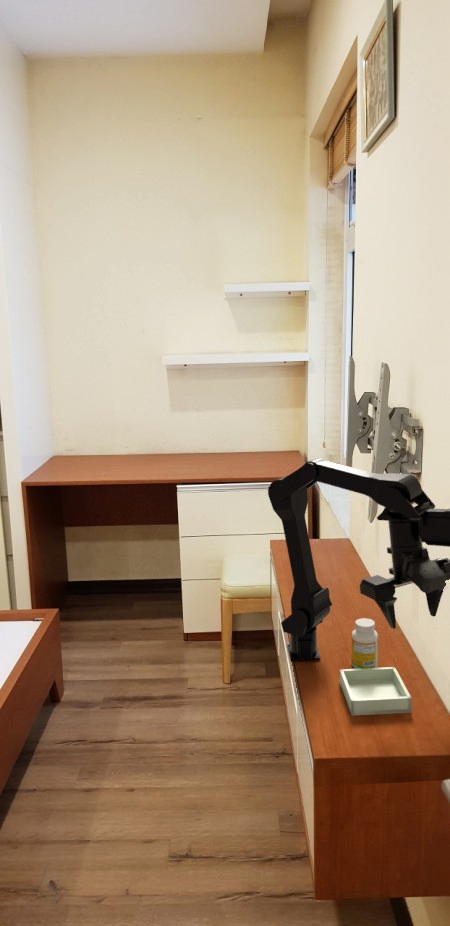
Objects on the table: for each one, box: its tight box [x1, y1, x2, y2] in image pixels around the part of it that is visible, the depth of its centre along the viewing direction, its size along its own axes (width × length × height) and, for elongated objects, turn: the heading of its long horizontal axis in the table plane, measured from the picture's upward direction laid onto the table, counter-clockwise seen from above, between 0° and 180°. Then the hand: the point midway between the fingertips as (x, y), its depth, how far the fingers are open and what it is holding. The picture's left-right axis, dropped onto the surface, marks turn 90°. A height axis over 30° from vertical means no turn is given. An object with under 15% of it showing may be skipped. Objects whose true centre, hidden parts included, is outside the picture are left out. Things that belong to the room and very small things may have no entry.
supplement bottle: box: [351, 617, 379, 669], centre depth 138 cm, size 5×5×10 cm
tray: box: [339, 666, 412, 717], centre depth 127 cm, size 11×11×3 cm
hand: (413, 621), depth 126 cm, fingers open, 9 cm apart
